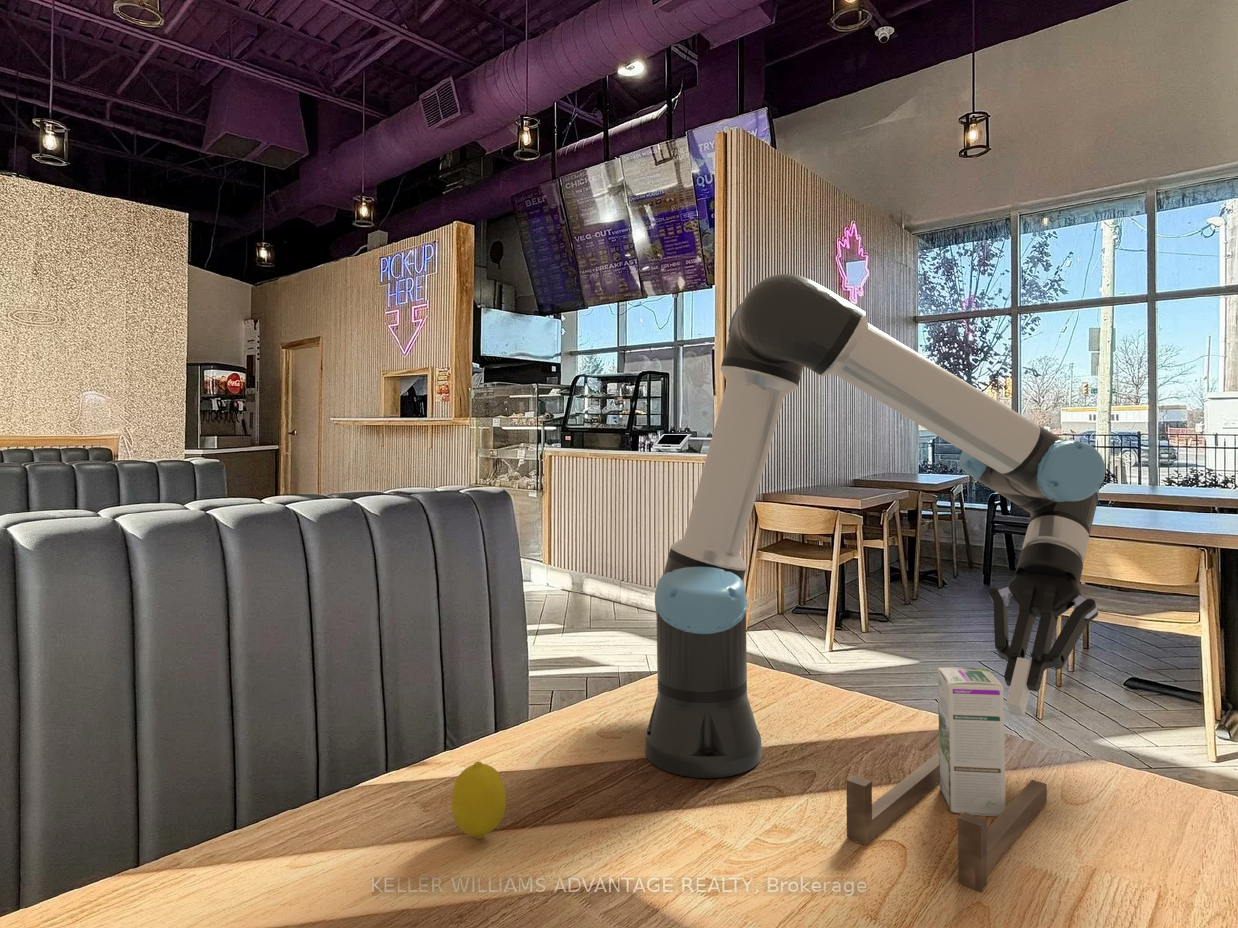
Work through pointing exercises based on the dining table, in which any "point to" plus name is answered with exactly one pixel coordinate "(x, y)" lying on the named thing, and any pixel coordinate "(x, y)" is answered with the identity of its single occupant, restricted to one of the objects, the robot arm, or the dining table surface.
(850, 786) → the brown wooden rack
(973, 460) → the robot arm
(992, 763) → the syrup box
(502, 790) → the lemon
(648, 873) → the dining table surface
